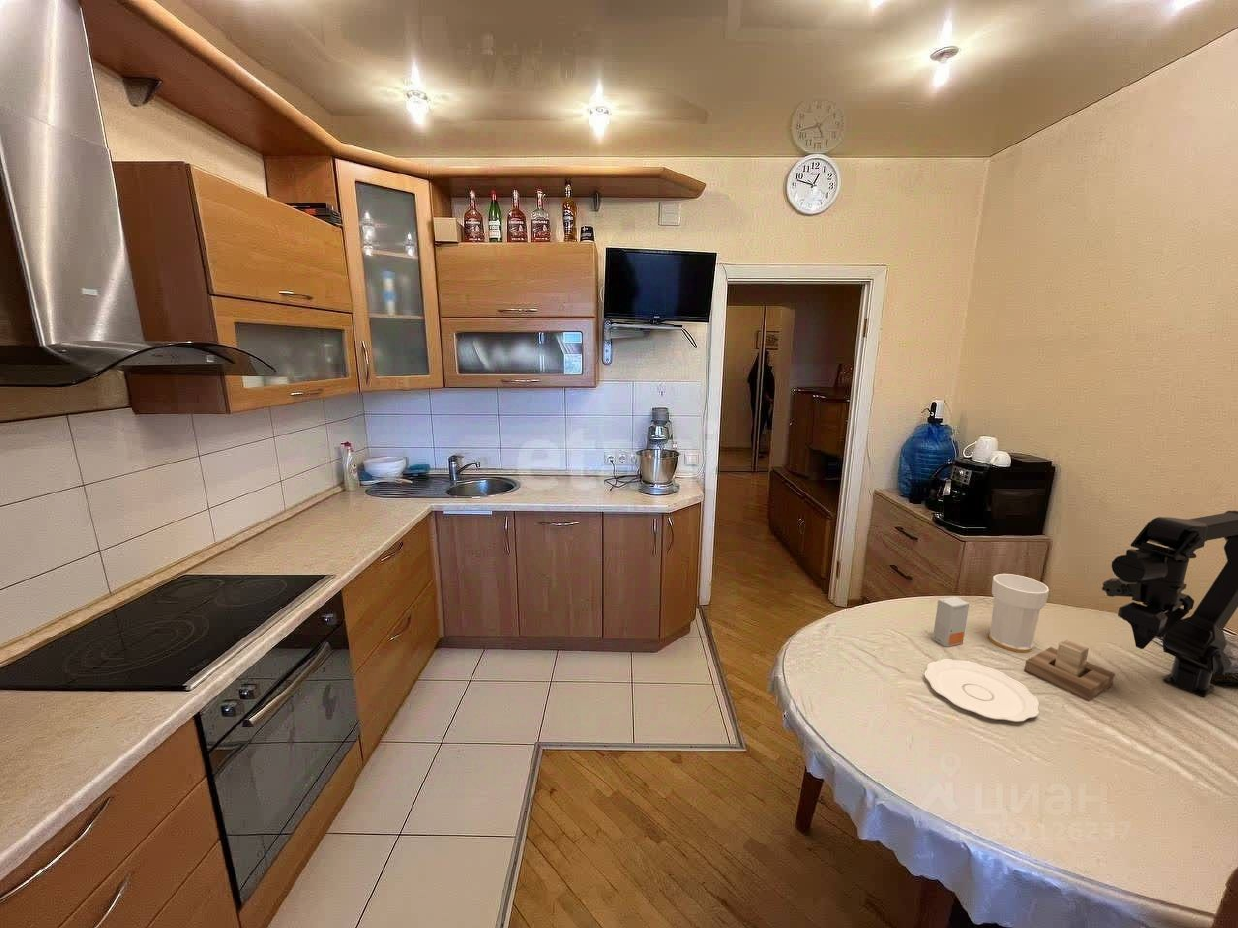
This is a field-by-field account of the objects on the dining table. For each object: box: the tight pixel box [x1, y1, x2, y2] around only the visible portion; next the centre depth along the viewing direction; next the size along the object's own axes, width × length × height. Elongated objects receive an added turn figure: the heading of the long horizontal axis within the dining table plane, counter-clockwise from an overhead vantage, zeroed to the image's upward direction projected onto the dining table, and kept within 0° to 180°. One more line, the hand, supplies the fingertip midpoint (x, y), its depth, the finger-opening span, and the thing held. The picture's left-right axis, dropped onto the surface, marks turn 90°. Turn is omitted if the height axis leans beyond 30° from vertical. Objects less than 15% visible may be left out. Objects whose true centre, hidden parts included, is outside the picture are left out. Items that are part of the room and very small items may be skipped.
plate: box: [923, 658, 1040, 723], centre depth 109 cm, size 21×21×2 cm
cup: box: [988, 573, 1050, 653], centre depth 126 cm, size 11×11×17 cm
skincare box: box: [932, 596, 970, 648], centre depth 128 cm, size 6×4×12 cm
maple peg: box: [1055, 639, 1090, 678], centre depth 113 cm, size 4×4×8 cm
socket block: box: [1024, 646, 1116, 702], centre depth 113 cm, size 12×12×3 cm
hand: (1148, 642), depth 105 cm, fingers open, 9 cm apart
